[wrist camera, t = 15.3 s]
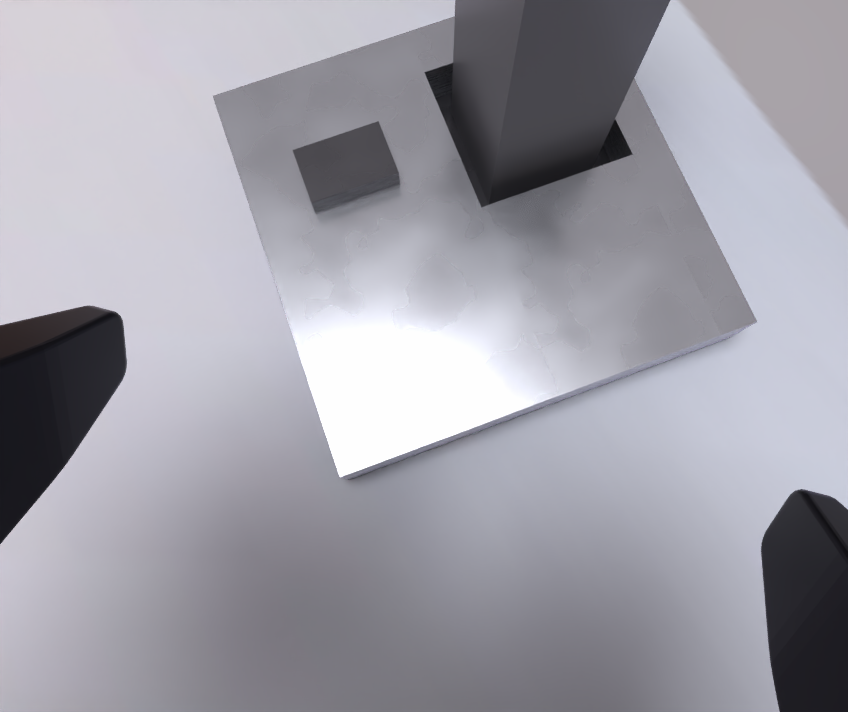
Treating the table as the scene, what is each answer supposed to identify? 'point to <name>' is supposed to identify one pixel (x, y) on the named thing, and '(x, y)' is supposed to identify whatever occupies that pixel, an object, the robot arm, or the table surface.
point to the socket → (461, 254)
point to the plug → (543, 83)
